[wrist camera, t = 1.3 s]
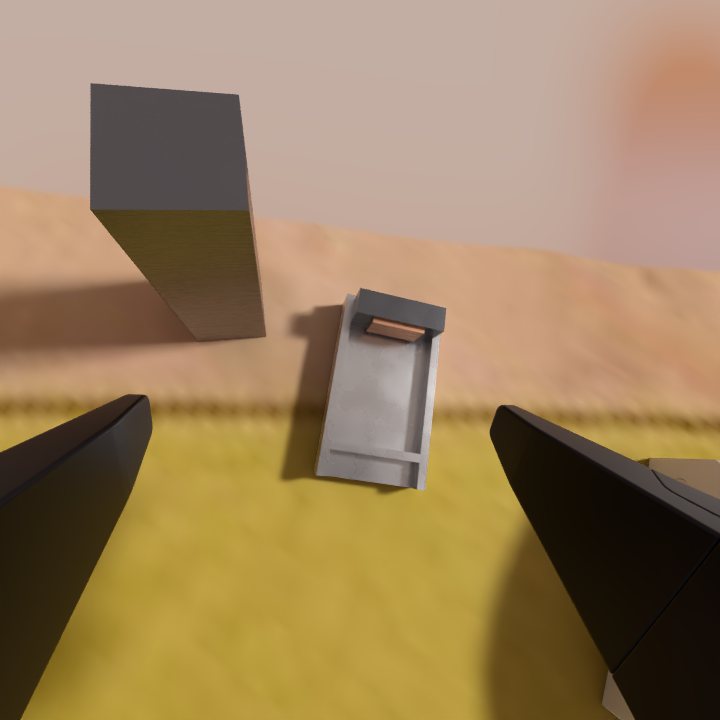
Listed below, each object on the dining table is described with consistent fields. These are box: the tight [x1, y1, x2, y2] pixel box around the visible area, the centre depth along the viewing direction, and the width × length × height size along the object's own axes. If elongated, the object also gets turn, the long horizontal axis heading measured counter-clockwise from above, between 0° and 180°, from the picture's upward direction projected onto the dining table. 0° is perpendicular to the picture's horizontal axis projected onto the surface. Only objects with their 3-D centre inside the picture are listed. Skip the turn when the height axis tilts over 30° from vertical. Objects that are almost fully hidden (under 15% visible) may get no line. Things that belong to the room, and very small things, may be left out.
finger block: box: [90, 83, 266, 342], centre depth 16 cm, size 4×4×13 cm
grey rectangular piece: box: [314, 288, 446, 491], centre depth 22 cm, size 11×6×4 cm, turn 171°
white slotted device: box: [602, 458, 720, 720], centre depth 21 cm, size 17×5×10 cm, turn 154°
